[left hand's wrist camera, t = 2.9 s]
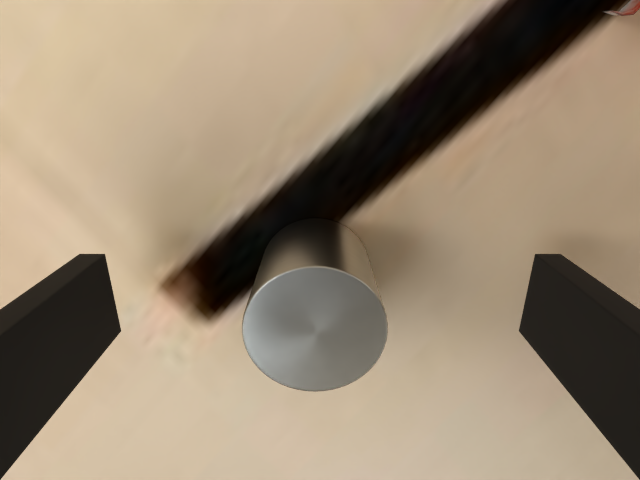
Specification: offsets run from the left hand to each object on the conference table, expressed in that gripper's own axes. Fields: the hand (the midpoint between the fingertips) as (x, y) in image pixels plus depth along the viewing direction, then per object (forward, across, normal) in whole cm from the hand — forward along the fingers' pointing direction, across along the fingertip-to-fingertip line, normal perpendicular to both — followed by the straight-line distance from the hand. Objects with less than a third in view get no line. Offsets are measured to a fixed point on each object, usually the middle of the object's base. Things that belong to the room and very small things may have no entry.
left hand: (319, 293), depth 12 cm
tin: (+3, 0, 0) cm, 3 cm away
